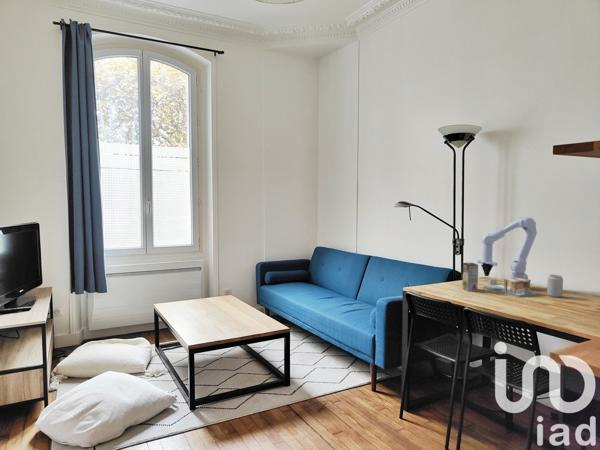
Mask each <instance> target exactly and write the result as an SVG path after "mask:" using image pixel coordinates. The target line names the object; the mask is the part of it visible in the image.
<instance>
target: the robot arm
mask: <svg viewBox="0 0 600 450" xmlns="http://www.w3.org/2000/svg"><path fill="white" fill-rule="evenodd" d="M536 224H537V222H536V220H535V219H533V217H532V218H531V217H525V216H524V217H520V218H518V219H516V220H514V221H513V222H511V223H510V224H508V225H507V226H505V227H503V228H496V229H494V231H492V232H489V233H487V234H486V235H484V236H482V239H481V243H482V255H481V256H482V257H481V259H477V262H476V264H481V268H482V270H483V273H484V276H485V277H489V276H490V273H491V271H492V269H493V267H498V262H496V261H493V246H494V245H493V244H494V243H495V242H497V241H498V240H500V239H502V238H504V237H505V235H506V234H508V233H509V232H510V231H513V230H514V229H518V228H522V229H523V230H524V232H525V233H526V234H525V236H524V239H523V242H522V244H521V246H520V249H519V251H518V254H517V255H516V258H514V260H513V262H511V264H510V266H509V267H510V269H511V271H510V272H511V273H510V275H511V278H510V279H513V278H523V279H528V280H529V276H528V274H527V273H525V272H526V271H527V259H528V256H529V253H530V251H531V249H532V246H533V244H534V241H535V239H536V236H537V234H538V231H537V225H536ZM509 286H510V287H511V285H509Z"/></svg>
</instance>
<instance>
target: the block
mask: <svg viewBox="0 0 600 450" xmlns="http://www.w3.org/2000/svg"><path fill="white" fill-rule="evenodd" d="M510 286H511V289H512V290H513V282H510ZM518 289H523V283H522V282H516V290H517V291H518Z"/></svg>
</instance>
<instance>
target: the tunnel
mask: <svg viewBox="0 0 600 450" xmlns="http://www.w3.org/2000/svg"><path fill="white" fill-rule="evenodd" d="M508 282H509V283H511V282H513V291H512V293H516V282H522V283H523V289H525V290H528V291H531V279H529V278H528V279H523V278H513V279H511V278H504V279H503V283H504V284H503V285H504V291H507V286H508Z"/></svg>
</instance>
